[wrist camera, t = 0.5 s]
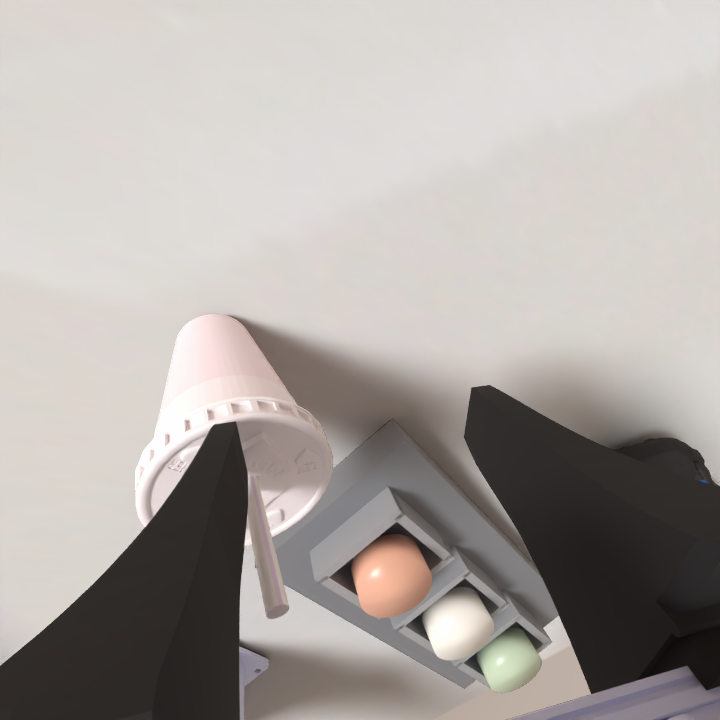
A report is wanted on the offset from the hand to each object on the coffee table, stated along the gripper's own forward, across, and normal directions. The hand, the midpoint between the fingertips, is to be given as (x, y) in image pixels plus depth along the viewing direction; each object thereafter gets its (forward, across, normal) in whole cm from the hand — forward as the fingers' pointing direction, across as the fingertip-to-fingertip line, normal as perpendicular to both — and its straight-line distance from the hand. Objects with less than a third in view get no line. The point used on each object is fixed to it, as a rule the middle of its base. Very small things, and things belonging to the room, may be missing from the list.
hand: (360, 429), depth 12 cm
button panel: (+8, -7, +22) cm, 25 cm away
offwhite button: (+5, -7, +22) cm, 23 cm away
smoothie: (+10, +6, +2) cm, 12 cm away
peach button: (+5, -2, +15) cm, 16 cm away
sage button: (+4, -12, +28) cm, 31 cm away
